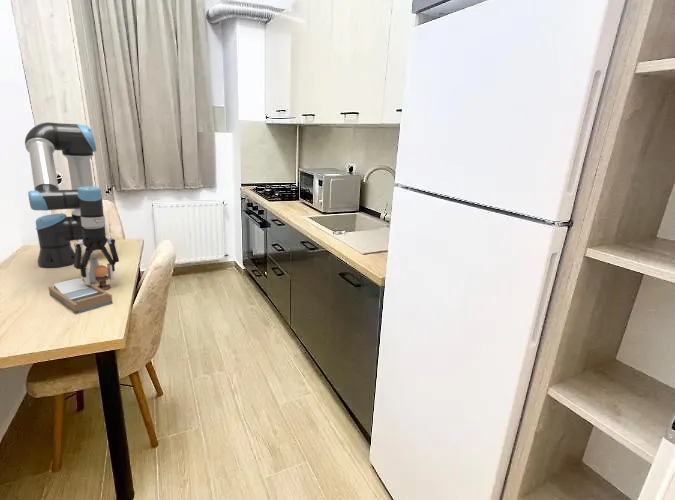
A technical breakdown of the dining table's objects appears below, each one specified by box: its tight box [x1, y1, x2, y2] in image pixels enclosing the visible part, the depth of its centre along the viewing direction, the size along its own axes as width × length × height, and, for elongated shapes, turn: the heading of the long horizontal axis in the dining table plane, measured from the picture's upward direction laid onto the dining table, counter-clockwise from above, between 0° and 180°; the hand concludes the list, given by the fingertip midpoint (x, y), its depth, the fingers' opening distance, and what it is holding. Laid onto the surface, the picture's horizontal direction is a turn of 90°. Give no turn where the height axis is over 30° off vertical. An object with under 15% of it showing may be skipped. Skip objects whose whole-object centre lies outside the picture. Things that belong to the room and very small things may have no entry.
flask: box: [88, 257, 100, 284], centre depth 154 cm, size 7×7×10 cm
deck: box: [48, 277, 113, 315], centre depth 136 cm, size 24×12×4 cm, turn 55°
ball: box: [94, 264, 108, 278], centre depth 145 cm, size 5×5×5 cm
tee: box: [95, 275, 111, 291], centre depth 147 cm, size 5×5×5 cm
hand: (99, 281), depth 145 cm, fingers open, 8 cm apart
